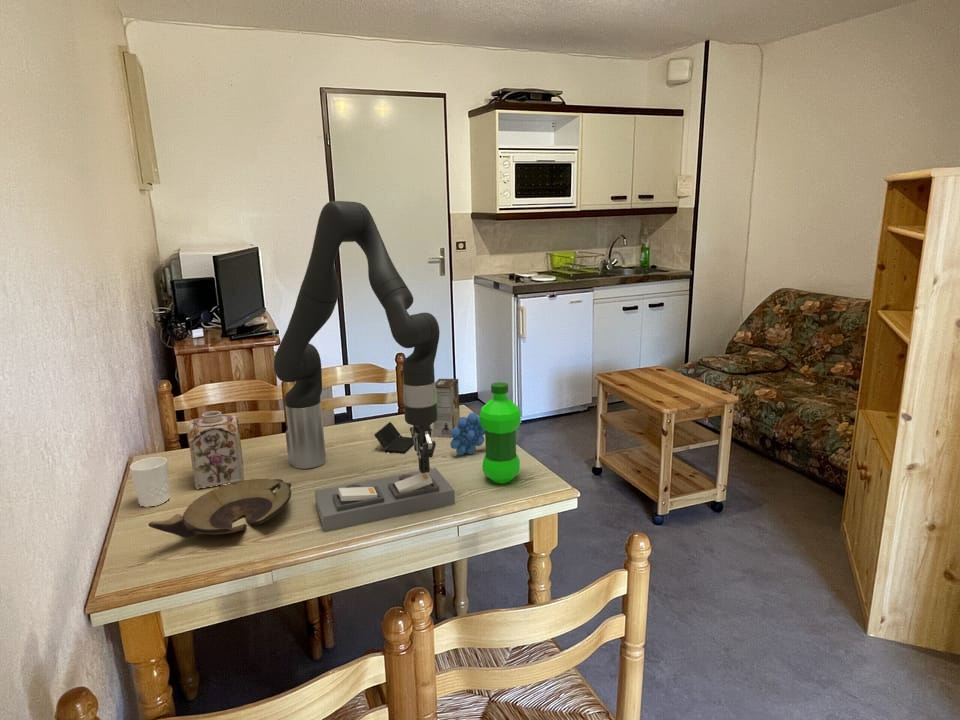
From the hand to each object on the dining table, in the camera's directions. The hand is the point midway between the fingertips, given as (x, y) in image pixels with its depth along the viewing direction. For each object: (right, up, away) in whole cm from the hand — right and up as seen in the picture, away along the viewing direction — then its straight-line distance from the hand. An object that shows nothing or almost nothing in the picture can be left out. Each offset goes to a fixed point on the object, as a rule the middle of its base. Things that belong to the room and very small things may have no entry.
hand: (424, 471), depth 142 cm
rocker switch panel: (-9, -8, +1) cm, 12 cm away
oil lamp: (-44, -11, -6) cm, 45 cm away
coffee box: (+3, +4, +46) cm, 46 cm away
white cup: (-66, -8, +5) cm, 67 cm away
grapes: (+10, 0, +30) cm, 31 cm away
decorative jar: (-55, -5, +18) cm, 58 cm away
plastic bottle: (+19, -4, +12) cm, 23 cm away
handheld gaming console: (-11, +1, +36) cm, 38 cm away
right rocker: (-3, -3, 0) cm, 4 cm away
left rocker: (-15, -4, -5) cm, 16 cm away
